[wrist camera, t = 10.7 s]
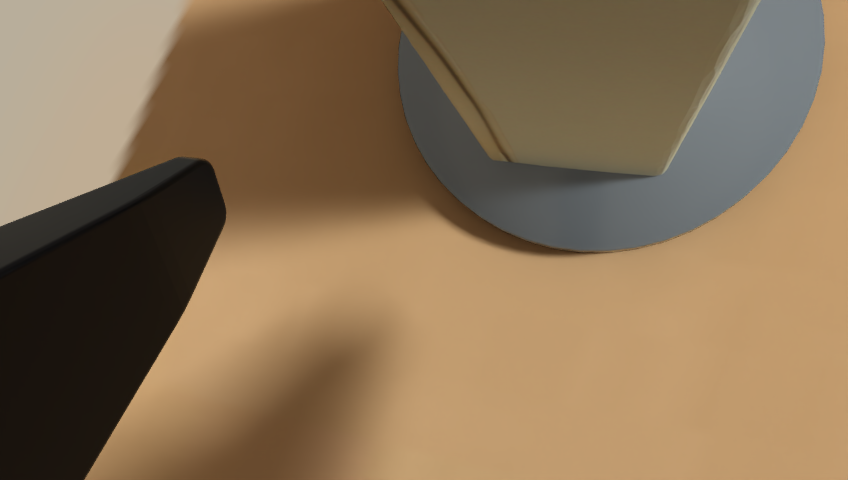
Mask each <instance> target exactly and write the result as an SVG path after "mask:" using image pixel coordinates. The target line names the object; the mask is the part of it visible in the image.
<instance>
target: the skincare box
mask: <svg viewBox="0 0 848 480" xmlns="http://www.w3.org/2000/svg"><path fill="white" fill-rule="evenodd" d="M760 1H761V0H382V2H383V3H384V5H385V6H386V7H387V9H388V10H389V12H390V13H391V14H392V16H393V18H394V19H395V21H396V22H397V23H398V25H399V26H400V28H401V30H402V31H403V33H404V34H405V35H406V36H407V38H408V39H409V41H410V43H411V45H412V46H413V47H414V48H415V50H416V51H417V53H418V54H419V56H420V57H421V58H422V60H423V61H424V63H425V64H426V65H427V67H428V69H429V70H430V72H431V73H432V75H433V76H434V78H435V79H436V81H437V82H438V84H439V85H440V87H441V88H442V90H443V91H444V93H445V94H446V95H447V97H448V98H449V100H450V101H451V102H452V104H453V105H454V107H455V108H456V109H457V111H458V112H459V114H460V116H461V117H462V118H463V120H464V121H465V123H466V124H467V126H468V127H469V129H470V130H471V132H472V133H473V134H474V136H475V137H476V139H477V140H478V142H479V143H480V145H481V146H482V148H483V149H484V150H485V152H486V153H487V155H488V156H489V157H490V158H491V159H492V160H496V161H505V162H514V163H523V164H531V165H539V166H548V167H558V168H569V169H579V170H590V171H600V172H611V173H623V174H635V175H648V176H657V175H662V174H663V173H664V172H665V171H666V170H667V169H668V167H669V165H670V163H671V161H672V160H673V158H674V156H675V154H676V152H677V150H678V149H679V147H680V145H681V143H682V141H683V140H684V138H685V136H686V134H687V132H688V131H689V129H690V127H691V126H692V124H693V122H694V120H695V118H696V117H697V115H698V113H699V111H700V109H701V108H702V106H703V104H704V102H705V100H706V99H707V97H708V95H709V93H710V92H711V90H712V88H713V86H714V84H715V83H716V81H717V79H718V77H719V75H720V74H721V72H722V70H723V68H724V66H725V64H726V63H727V61H728V59H729V57H730V55H731V53H732V52H733V50H734V48H735V46H736V44H737V42H738V41H739V39H740V37H741V35H742V33H743V32H744V30H745V28H746V26H747V24H748V23H749V21H750V19H751V17H752V15H753V13H754V12H755V10H756V8H757V6H758V5H759V3H760Z"/></svg>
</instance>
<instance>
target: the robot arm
mask: <svg viewBox="0 0 848 480" xmlns="http://www.w3.org/2000/svg"><path fill="white" fill-rule="evenodd" d="M225 220H226V207H225V203H224V200H223V197H222V194H221V191H220V187H219V184H218V181H217V178H216V175H215V172H214V169H213V167H212V165H211V164H210V163H209V162H208V161H207V160H205V159H199V158H189V157H178V158H174V159H172V160H169V161H167V162H164V163H162V164H159V165H157V166H154V167H151V168H149V169H146V170H144V171H141V172H139V173H136V174H134V175H131V176H128V177H126V178H123V179H121V180H118V181H116V182H113V183H110V184H108V185H105V186H103V187H101V188H98V189H95V190H93V191H90V192H88V193H85V194H82V195H80V196H77V197H75V198H72V199H70V200H67V201H64V202H62V203H59V204H57V205H54V206H52V207H49V208H46V209H44V210H41V211H39V212H36V213H34V214H31V215H29V216H26V217H23V218H21V219H18V220H16V221H13V222H11V223H8V224H6V225H3V226H1V227H0V480H84V479H85V478H86V476H87V474H88V473H89V471H90V469H91V468H92V466H93V464H94V463H95V461H96V459H97V458H98V456H99V454H100V452H101V451H102V449H103V447H104V446H105V444H106V442H107V441H108V439H109V437H110V436H111V434H112V432H113V431H114V429H115V427H116V426H117V424H118V422H119V421H120V419H121V417H122V416H123V414H124V412H125V411H126V409H127V407H128V406H129V404H130V402H131V400H132V399H133V397H134V395H135V394H136V392H137V390H138V389H139V387H140V385H141V384H142V382H143V380H144V379H145V377H146V375H147V374H148V372H149V370H150V369H151V367H152V365H153V364H154V362H155V360H156V359H157V357H158V355H159V354H160V352H161V350H162V349H163V347H164V345H165V343H166V342H167V340H168V338H169V337H170V335H171V333H172V332H173V330H174V328H175V327H176V325H177V323H178V321H179V320H180V318H181V316H182V314H183V313H184V311H185V309H186V307H187V305H188V303H189V301H190V299H191V297H192V294H193V292H194V290H195V288H196V286H197V284H198V281H199V279H200V277H201V275H202V273H203V270H204V268H205V266H206V264H207V262H208V260H209V257H210V255H211V253H212V251H213V249H214V247H215V244H216V242H217V240H218V238H219V236H220V234H221V231H222V229H223V227H224V224H225Z"/></svg>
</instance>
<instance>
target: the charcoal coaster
mask: <svg viewBox="0 0 848 480" xmlns="http://www.w3.org/2000/svg"><path fill="white" fill-rule="evenodd" d="M824 45H825V37H824V14H823V9H822V4H821V0H761V1H760V3H759V5H758V6H757V8H756V10H755V12H754V13H753V15H752V17H751V19H750V21H749V23H748V24H747V26H746V28H745V30H744V32H743V33H742V35H741V37H740V39H739V41H738V42H737V44H736V46H735V48H734V50H733V52H732V53H731V55H730V57H729V59H728V61H727V63H726V64H725V66H724V68H723V70H722V72H721V74H720V75H719V77H718V79H717V81H716V83H715V84H714V86H713V88H712V90H711V92H710V93H709V95H708V97H707V99H706V100H705V102H704V104H703V106H702V108H701V109H700V111H699V113H698V115H697V117H696V118H695V120H694V122H693V124H692V126H691V127H690V129H689V131H688V132H687V134H686V136H685V138H684V140H683V141H682V143H681V145H680V147H679V149H678V150H677V152H676V154H675V156H674V158H673V160H672V161H671V163H670V165H669V167H668V169H667V170H666V171H665V172H664V173H663V174H662V175H657V176H648V175H635V174H623V173H611V172H600V171H590V170H579V169H569V168H558V167H548V166H539V165H531V164H523V163H514V162H505V161H496V160H492V159H491V158H490V157H489V156H488V155H487V153H486V152H485V150H484V149H483V148H482V146H481V145H480V143H479V142H478V140H477V139H476V137H475V136H474V134H473V133H472V132H471V130H470V129H469V127H468V126H467V124H466V123H465V121H464V120H463V118H462V117H461V116H460V114H459V112H458V111H457V109H456V108H455V107H454V105H453V104H452V102H451V101H450V100H449V98H448V97H447V95H446V94H445V93H444V91H443V90H442V88H441V87H440V85H439V84H438V82H437V81H436V79H435V78H434V76H433V75H432V73H431V72H430V70H429V69H428V67H427V65H426V64H425V63H424V61H423V60H422V58H421V57H420V56H419V54H418V53H417V51H416V50H415V48H414V47H413V46H412V45H411V43H410V41H409V39H408V38H407V36H406V35H405V34H404V33H403V31H401V37H400V43H399V58H398V76H399V86H400V96H401V100H402V104H403V109H404V113H405V117H406V120H407V123H408V126H409V128H410V131H411V133H412V136H413V139H414V141H415V143H416V145H417V147H418V148H419V150H420V152H421V154H422V156H423V158H424V159H425V161H426V163H427V164H428V165H429V167H430V168H431V170H432V171H433V172H434V174H435V175H436V176H437V178H438V179H439V180H440V182H441V183H442V184H443V185H444V186H445V187H446V188H447V189H448V190H449V191H450V192H451V193H452V194H453V195H454V196H455V197H456V198H457V199H458V200H459V201H460V202H462V203H463V204H464V205H465V206H466V207H468V208H469V209H470V210H472V211H473V212H474V213H476V214H477V215H478V216H479V217H481V218H482V219H483V220H485V221H487V222H488V223H490V224H492V225H493V226H495V227H497V228H499V229H500V230H502V231H504V232H506V233H508V234H510V235H513V236H515V237H518V238H520V239H523V240H525V241H527V242H530V243H534V244H538V245H541V246H545V247H549V248H553V249H558V250H566V251H573V252H581V253H610V252H618V251H627V250H635V249H640V248H643V247H647V246H651V245H655V244H659V243H663V242H666V241H669V240H671V239H674V238H676V237H679V236H681V235H684V234H687V233H689V232H691V231H693V230H695V229H697V228H699V227H701V226H702V225H704V224H706V223H708V222H710V221H712V220H713V219H715V218H717V217H718V216H720V215H721V214H722V213H724V212H725V211H726V210H728V209H729V208H731V207H732V206H733V205H735V204H736V203H738V202H739V201H740V200H741V199H742V198H744V197H745V196H746V195H747V194H748V193H749V192H750V191H751V190H752V189H753V188H754V187H755V186H756V185H758V184H759V183H760V182H761V181H762V180H763V179H764V178H765V177H766V176H767V175H768V174H769V173H770V172H771V170H772V169H773V168H774V167H775V165H776V164H777V163H778V162H779V161H780V159H781V158H782V157H783V156H784V154H785V153H786V152H787V150H788V149H789V147H790V146H791V144H792V142H793V141H794V139H795V137H796V136H797V134H798V132H799V131H800V129H801V127H802V126H803V123H804V121H805V119H806V116H807V114H808V112H809V110H810V107H811V105H812V103H813V100H814V97H815V93H816V90H817V86H818V82H819V79H820V75H821V71H822V62H823V54H824Z"/></svg>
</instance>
